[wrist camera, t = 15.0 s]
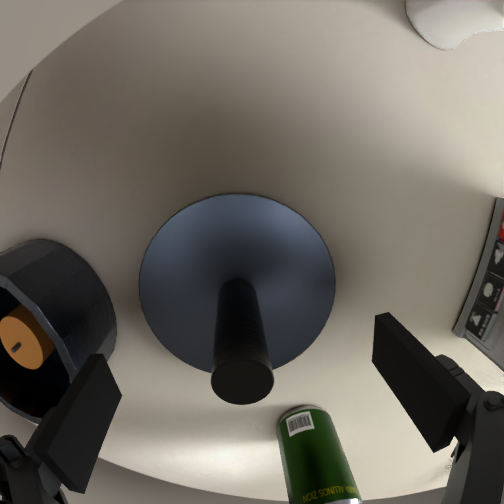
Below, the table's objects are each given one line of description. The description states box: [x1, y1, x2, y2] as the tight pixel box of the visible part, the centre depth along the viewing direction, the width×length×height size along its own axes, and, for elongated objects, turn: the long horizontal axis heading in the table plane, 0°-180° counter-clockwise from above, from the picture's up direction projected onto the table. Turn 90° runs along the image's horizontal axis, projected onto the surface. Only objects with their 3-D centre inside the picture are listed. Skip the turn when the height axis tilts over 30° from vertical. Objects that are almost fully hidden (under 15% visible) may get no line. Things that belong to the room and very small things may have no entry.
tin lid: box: [139, 193, 335, 405], centre depth 16 cm, size 14×14×10 cm
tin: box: [0, 239, 117, 424], centre depth 17 cm, size 13×13×8 cm
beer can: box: [277, 406, 363, 504], centre depth 20 cm, size 5×5×12 cm
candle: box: [0, 304, 56, 369], centre depth 17 cm, size 4×4×6 cm
